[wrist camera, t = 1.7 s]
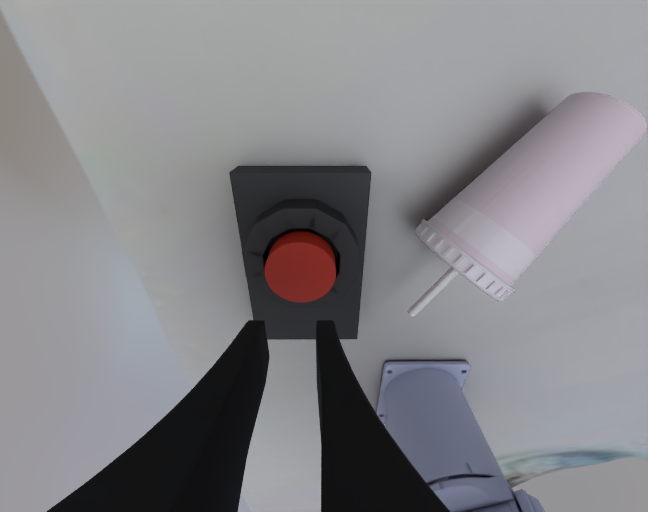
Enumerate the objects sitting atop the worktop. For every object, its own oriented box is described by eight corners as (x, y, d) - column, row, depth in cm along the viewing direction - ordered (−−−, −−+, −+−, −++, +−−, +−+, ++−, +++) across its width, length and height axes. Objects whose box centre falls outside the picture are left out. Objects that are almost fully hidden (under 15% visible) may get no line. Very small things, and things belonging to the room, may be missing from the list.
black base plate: (354, 323, 23) (359, 356, 20) (261, 323, 23) (251, 357, 20) (366, 166, 17) (376, 179, 14) (237, 165, 17) (218, 179, 13)
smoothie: (553, 139, 17) (406, 291, 22) (522, 66, 14) (352, 268, 18) (685, 174, 13) (462, 359, 17) (693, 76, 9) (404, 346, 13)
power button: (334, 287, 17) (335, 302, 16) (272, 287, 17) (267, 302, 16) (335, 230, 15) (337, 242, 14) (265, 230, 15) (260, 242, 14)
